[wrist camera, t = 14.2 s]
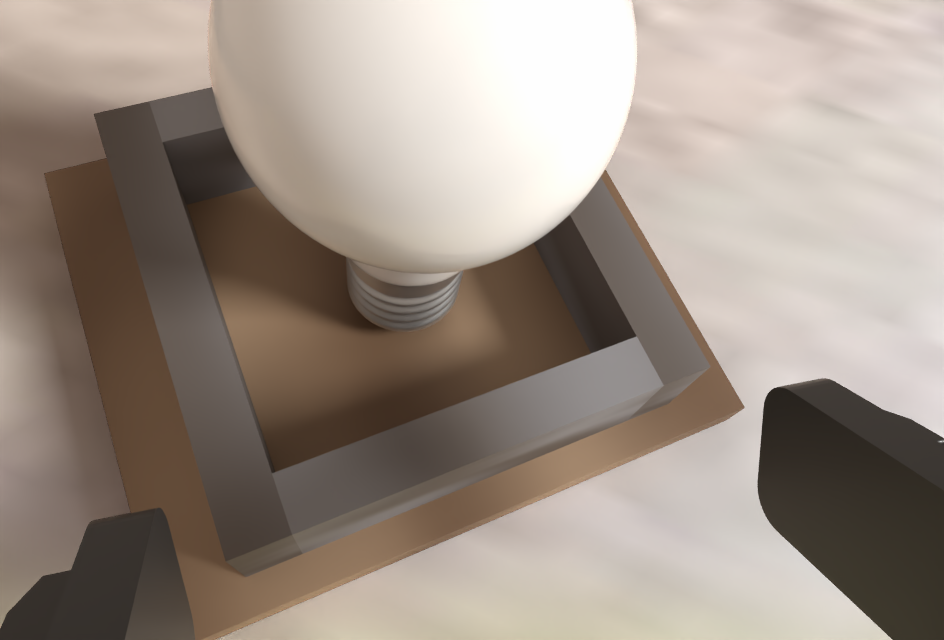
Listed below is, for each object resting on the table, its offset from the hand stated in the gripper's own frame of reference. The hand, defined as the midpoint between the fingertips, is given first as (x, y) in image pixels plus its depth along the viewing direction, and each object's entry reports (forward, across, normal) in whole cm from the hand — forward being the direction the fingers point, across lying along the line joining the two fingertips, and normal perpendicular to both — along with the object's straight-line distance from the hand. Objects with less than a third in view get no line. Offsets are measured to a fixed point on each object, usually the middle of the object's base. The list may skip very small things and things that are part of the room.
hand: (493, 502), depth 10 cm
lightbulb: (+10, 0, 0) cm, 10 cm away
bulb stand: (+10, 0, +1) cm, 10 cm away
